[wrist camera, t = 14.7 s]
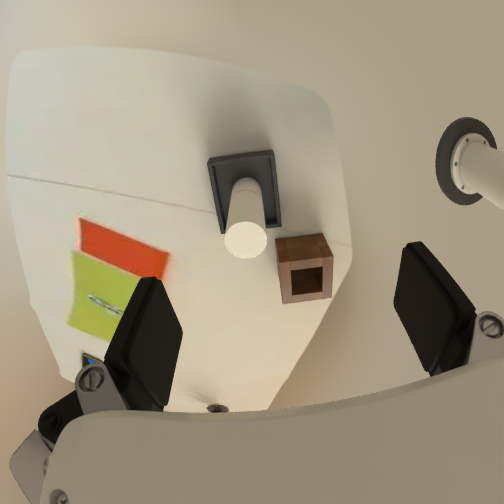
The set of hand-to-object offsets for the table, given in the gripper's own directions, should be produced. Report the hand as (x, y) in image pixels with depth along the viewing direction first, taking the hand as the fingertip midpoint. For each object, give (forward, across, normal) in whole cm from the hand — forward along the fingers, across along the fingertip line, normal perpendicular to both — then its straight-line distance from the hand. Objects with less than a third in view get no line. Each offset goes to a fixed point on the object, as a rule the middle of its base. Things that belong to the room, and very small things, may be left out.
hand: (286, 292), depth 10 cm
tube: (+32, +3, +7) cm, 33 cm away
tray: (+32, +3, +7) cm, 33 cm away
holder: (+33, -4, +20) cm, 38 cm away
